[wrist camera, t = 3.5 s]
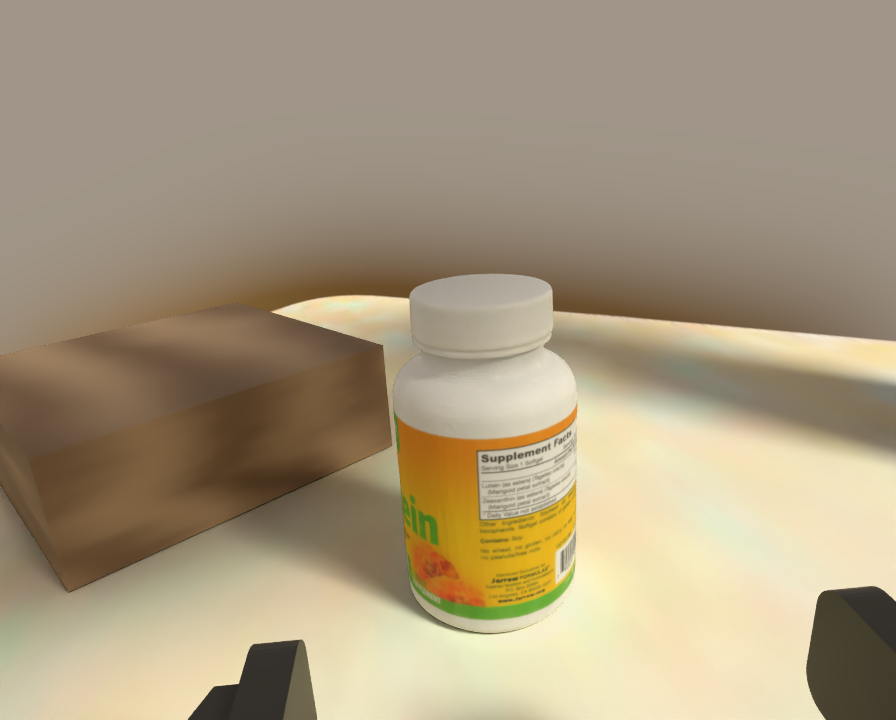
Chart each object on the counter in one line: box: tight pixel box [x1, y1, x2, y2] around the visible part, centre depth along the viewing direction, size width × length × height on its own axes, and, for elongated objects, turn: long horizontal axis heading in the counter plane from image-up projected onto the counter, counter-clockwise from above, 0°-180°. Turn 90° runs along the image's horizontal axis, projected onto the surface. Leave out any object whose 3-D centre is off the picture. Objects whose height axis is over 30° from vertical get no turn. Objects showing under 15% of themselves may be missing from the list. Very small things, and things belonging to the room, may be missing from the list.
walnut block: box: [0, 302, 392, 592], centre depth 30 cm, size 14×14×5 cm
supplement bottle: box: [393, 274, 577, 633], centre depth 19 cm, size 5×5×10 cm
